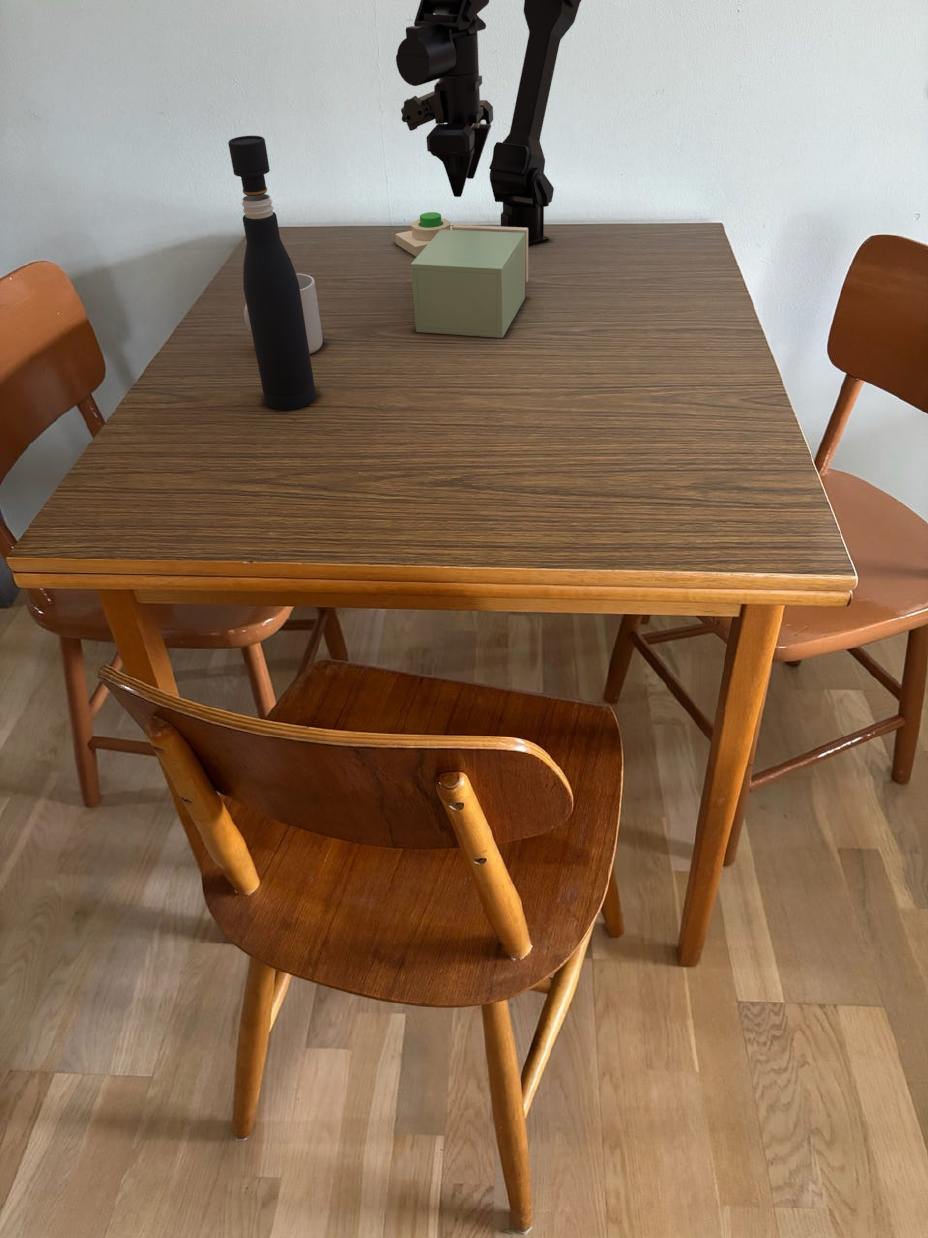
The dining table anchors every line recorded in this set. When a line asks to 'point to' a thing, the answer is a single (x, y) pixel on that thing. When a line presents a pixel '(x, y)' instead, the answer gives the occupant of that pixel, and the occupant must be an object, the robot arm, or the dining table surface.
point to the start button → (430, 220)
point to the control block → (419, 236)
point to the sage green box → (469, 282)
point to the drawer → (500, 229)
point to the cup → (305, 312)
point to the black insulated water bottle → (271, 287)
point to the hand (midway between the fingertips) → (464, 187)
